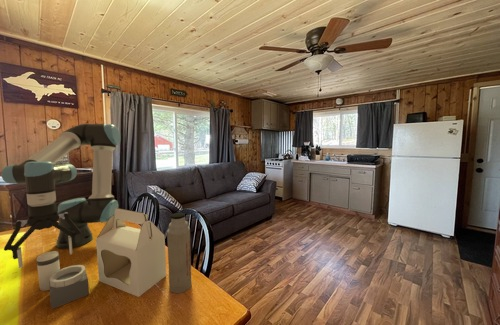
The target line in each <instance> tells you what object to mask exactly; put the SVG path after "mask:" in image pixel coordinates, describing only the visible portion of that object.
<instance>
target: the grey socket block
mask: <svg viewBox="0 0 500 325" xmlns="http://www.w3.org/2000/svg"><path fill="white" fill-rule="evenodd" d="M48 291H49V301H50V302H49V303H50V308H51V310H53V309H56V308H58V307H61V306H64V305H65V304H68V303H71V302H73V301H76V300H78V299H81V298H84V297H86V296H89V295H90V288H89V278H88V274H87V271H86V267H85V265H83V264H75V265H69V266H67V267H63V268H60V270H59V271H57V272H55V273H54V274H53V275H51V276H50V278H49V290H48Z"/></svg>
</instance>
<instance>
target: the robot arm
mask: <svg viewBox="0 0 500 325" xmlns="http://www.w3.org/2000/svg"><path fill="white" fill-rule="evenodd" d="M120 143H121V133H120V131H119V129H118V127H117V126H116V125H114V124H112V123H111V124H109V123H81V124H78V125H74V126H71V127H69V128H68V129H66V130H64V131H63V132H61V133H60V134H59V136H58V138H56V139H55V140H53V141H52V142H51V143H49V144H47V145H46V146H45V147H43V148H42V149H41V150H40V149H39V150H38V151H37V152H36V153H34V154H32V156H30V157H28V158H27V159H25V160H24V161H22V162H20V164H19V163H18V164H10V165H9V164H8V165H6V166H5V167H4V168H3V169H2V171H1V173H0V175H1V178H2V180H3V181H4V182H5V183H7V184H10V185H11V184H13V185H25V188H26V201H27V205H28V206H27V212H28V215H27V216H28V218H27V219H23V220H22V219H18V220H16V223H15V228H14V229H13V232H12V233H11V234H10V237H9V239H8V240H7V242H6V243H5V245H4V247H3V251H11V252H12V258H13V260H17V264H18V269H21V268H23V265H24V264H23V262H24V261H23V253H22V252H23V251H22V247H21V246H22V244H24V242H25V241H26V240H27V239H28V238H29V237H30V236H31V235H32V233H34V231H35V230H36V231H37V230H38V231H42V230H44V229H50V228H53V227H54V228H56V229H58V230H59V233H58V236H57V239H56V243H55V244H56V248H57V249H61V250H64V249H66V250H67V249H69V255H73V249H74V248H77V247H80V246H84V245H86V244H88V243H90V242H91V241H92V240H93V238H94V236H93V233H92V231H91V229H90V227H89V224H95V223H100V224H102V223H107V221H108V220H109V218H110V217H111V215H115V209H116V208H119V202H118V200H116V199H115V196H114V195H113V194H112V176H113V175H112V173H113V172H112V171H113V170H112V169H113V151H115V150H116V149H117V148H116V146H118V145H120ZM86 145H87V146H90V149H92V150H93V158H92V159H93V162H92V163H93V164H92V166H93V167H92V184H91V186H92V187H91V188H92V189H91V195H89V197H88V199H86V197H77V198H73V199H68V200H65V201H62V202H60V203H59V204H58V205H57V202H56V201H57V195H56V193H57V192H56V185H57V184H58V185H59V184H62V183H68V182H70V181H72V180H74V179H75V178H76V177H77V175H78V170H77V168H76V167H75V165H73V164H71V163H60V164H57V162H59V161H60V160H61V159H62V158H63V157H65V156H66V155H67V154H68V153H69V152H70V151H72V150H74V149H78V148H80V146H86ZM25 225H29V226H30V227H29V228H28V229H27V230H26V232H25V233H23V235H22V236H20V238H19V239H18V240H17V241H16V242H15V243H14V241H15V240H16V237H17V236H18V234H19V233H20V231H21V228H23V227H24V226H25ZM13 243H14V244H13Z"/></svg>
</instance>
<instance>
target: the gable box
mask: <svg viewBox="0 0 500 325" xmlns="http://www.w3.org/2000/svg"><path fill="white" fill-rule="evenodd" d="M149 216H150V215H149V214H145V213H144V212H141V211H134V210H129V209H124V208H119V207H118V208H116V209H115V215H111V217H110V218H109V220H108V221H107V222H105V224H104V226H103V228H102V229H101V231H100V232H99V234H98V235H97V236H96V238H95V243H96V255H97V269H98V281H99V282H100V283H102V284H106V285H108V286H110V287H114V288H116V289H118V290H120V291H123V292H125V293H128V294H130V295H133V296H135V297H138V298H140V297H141V296H142V295H143V294H145V293H146V292H147V291H148V290H151V288H152V287H153V286H155V285H156V284H158V283H159V282H161V280H163V279H164V278H165V277H166V276H167V259H166V242H165V241H166V240H165V239H166V238H165V237H166V236H165V234H164V232H162V231H161V230H160V229H159V227H157V226H156V225H155V224H154V223H153V221H152V220H148V219H149ZM125 222H128V223H132V224H136V225H137V224H138V225H141V227H140V228H138V227H137V228H136V227H132V226H127V225H126V223H125Z"/></svg>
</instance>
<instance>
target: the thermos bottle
mask: <svg viewBox="0 0 500 325" xmlns="http://www.w3.org/2000/svg"><path fill="white" fill-rule="evenodd" d="M170 218H171V220H170V221H171V222H169V224H168V228H167V230H166V234H167V235H166V236H167V237H166V238H167V258H168V259H167V260H168V263H167V264H168V283H169V286H168V287H169V288H168V289H169V290H170V292H172V293H174V294H182V293H184V292H187V291H188V290H189V289H190V288H191V286H192V263H191V262H192V258H191V257H192V255H191V254H192V253H191V228H190V226H189V222H188V221H187V220H186V213H184V212H175V213H172V214H170Z"/></svg>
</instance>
